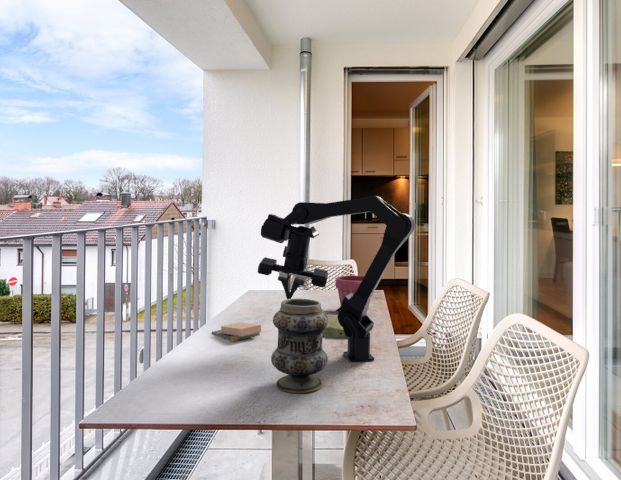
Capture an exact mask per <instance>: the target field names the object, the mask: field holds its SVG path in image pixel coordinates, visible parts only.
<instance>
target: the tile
mask: <svg viewBox="0 0 621 480" xmlns="http://www.w3.org/2000/svg"><path fill="white" fill-rule="evenodd" d="M220 330H221V333H222V334H228V335H234V336H240V337H243V336H247V335H252V334H256V333H261V332H262V326H261V324H258V323H248V322H241V321H239V322H236V323H231V324H224V325H221V326H220Z"/></svg>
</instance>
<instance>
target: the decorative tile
mask: <svg viewBox="0 0 621 480" xmlns="http://www.w3.org/2000/svg"><path fill="white" fill-rule="evenodd" d="M325 314H326V315H327V317H328V325H327V326H326V328H325V329H323V335H322V336H323V337H324V336H325V337H328V338H329V337H333V338H347V339H348V337H346V335H345V332H344V329H343V327H342V326H341V325H340V324H339V321H338V319H337V316H338V314H331V313H330V314H329V313H325Z"/></svg>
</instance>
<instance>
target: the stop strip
mask: <svg viewBox="0 0 621 480" xmlns="http://www.w3.org/2000/svg"><path fill="white" fill-rule="evenodd" d="M260 333H261V332H260ZM260 333H256V334H252V335H247V336H243V337H240V336H231V337H230V340H229V342H230V343H231V342H232V343H233V342H237V341H241V340H245V339H248V338H252V337H253V338H254V337H257V336H260V335H261V334H260Z"/></svg>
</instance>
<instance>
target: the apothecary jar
mask: <svg viewBox="0 0 621 480" xmlns="http://www.w3.org/2000/svg"><path fill="white" fill-rule="evenodd" d="M326 314H327V313H325V311H323V309H322V304H321V302H320V301H319V300H315V299H311V298H303V297H300V298H297V297H296V298H293V297H292V298H291V299H287V298H286V299H283V300H282V301H281V303H280V308H279V310H278V311H276V313H274V315H273V317H272V323H273V326H274V327H275V328H277V331H278V332H277V333H278V335H277V346H276V347H277V348H276V349H274V350H273V352H272V353H271V357H270V359H271V361H270V362H271V364H272V366H273V367H274V368H275V369H276V370H277V371H279V372H280V373H283V374H285V376H282V377H281V378H279V379H278V380H277V381H276V384H275V385H276V387H277V388H278V389H279V390H280V391H282V392H286V393H291V394H308V393H312V392H317V391H318V390H319V389H322V387H323V381H322V380H321V379H320V378H319V377H316V376H314V374H317V373H319V372H321V371H323V369H325V367H326V366H327V364H328V362H329V361H328V360H329V358H328V355H327V352H326V351H325V350H324V349H323V337H324V335H323V329H325V328H326V326H327V325H328V317H327V315H326Z"/></svg>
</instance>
